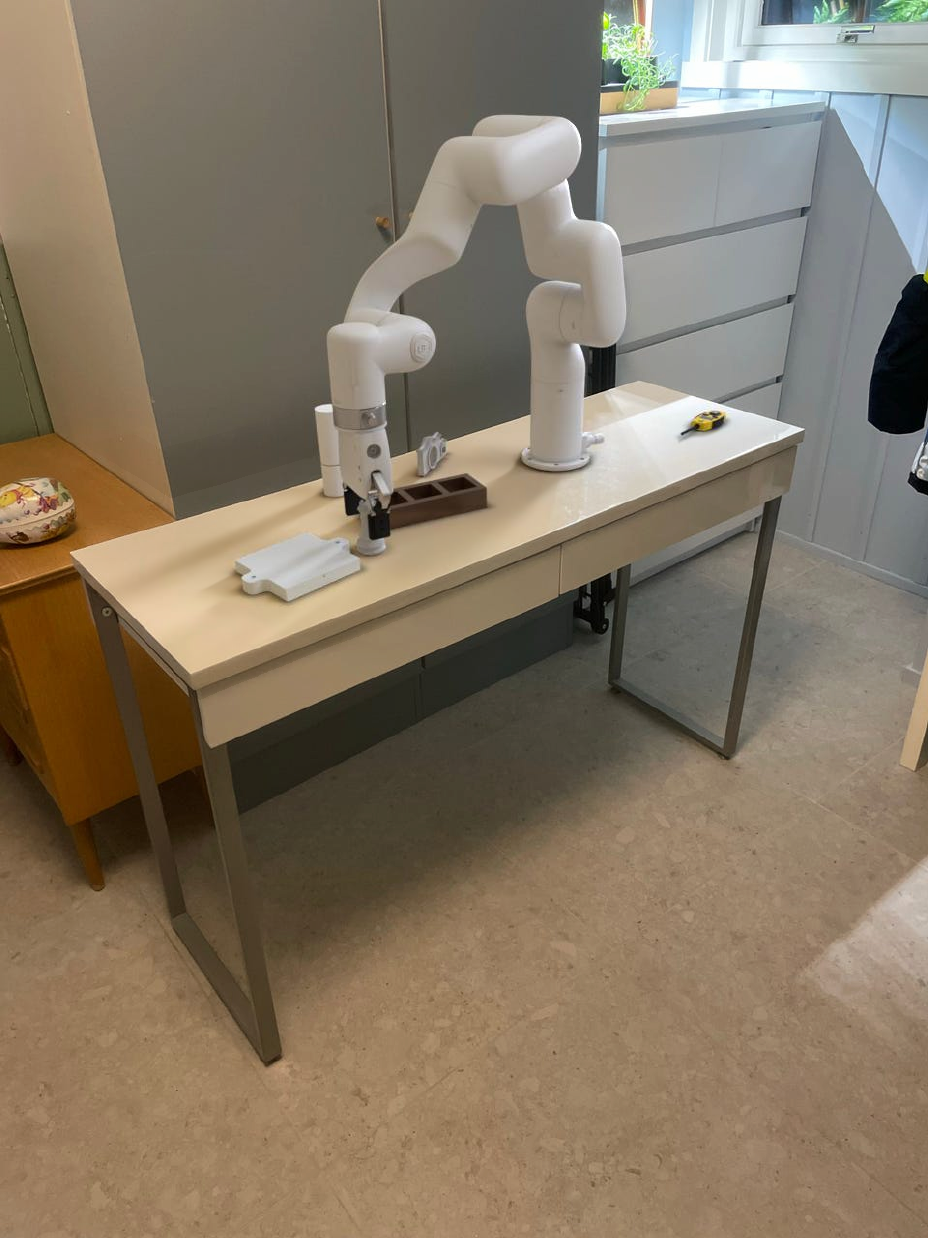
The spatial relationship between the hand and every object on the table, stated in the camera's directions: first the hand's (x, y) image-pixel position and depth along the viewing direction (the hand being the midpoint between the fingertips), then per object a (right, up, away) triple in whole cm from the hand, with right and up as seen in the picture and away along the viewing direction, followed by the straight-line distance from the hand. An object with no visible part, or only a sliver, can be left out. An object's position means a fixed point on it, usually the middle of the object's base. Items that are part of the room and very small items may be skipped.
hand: (367, 525), depth 139 cm
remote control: (+62, +24, +46) cm, 81 cm away
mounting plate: (-10, -7, -3) cm, 13 cm away
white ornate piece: (+9, +14, +32) cm, 36 cm away
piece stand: (+8, +4, +14) cm, 17 cm away
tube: (-8, +8, +22) cm, 25 cm away
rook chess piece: (0, -4, +3) cm, 5 cm away
